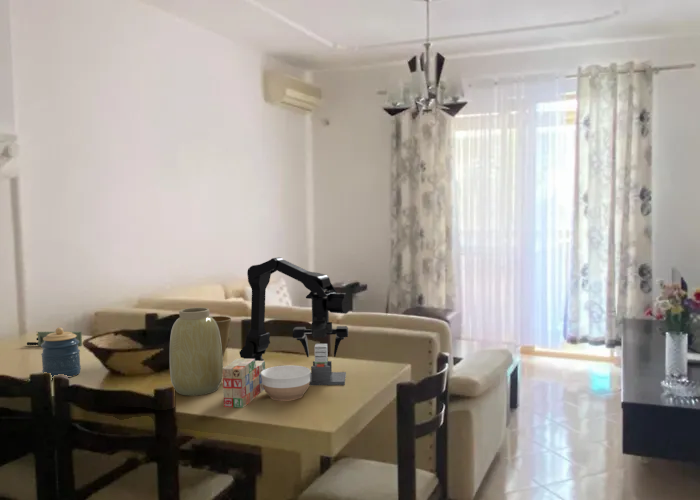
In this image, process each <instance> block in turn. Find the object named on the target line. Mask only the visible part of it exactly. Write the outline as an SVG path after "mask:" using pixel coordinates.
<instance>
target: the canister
mask: <svg viewBox="0 0 700 500" xmlns="http://www.w3.org/2000/svg"><path fill="white" fill-rule="evenodd" d="M54 332H55V333H50V334H48V335H47V336H46V337H44V338H43V340H44V343H42V344H41V346H40V347H41V349H42V352H41V362H42V363H41V364H42V371H41V372H43V373H44V372H47V373H51V375H52V377H53V376H54V375H58V374H64V375H67V376H72V377H74V376H73V375H76V376H77V374H78V375H80V374H81V369H82V366H81V359H80V352H81V351H80V348H79V346H78V344H79V341H78V340H77V339H76V338H75V337H76V336H77V335H75V334H73V333H72V332H73V331H64V328H63V327H57V328H56V329H55V331H54Z"/></svg>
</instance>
